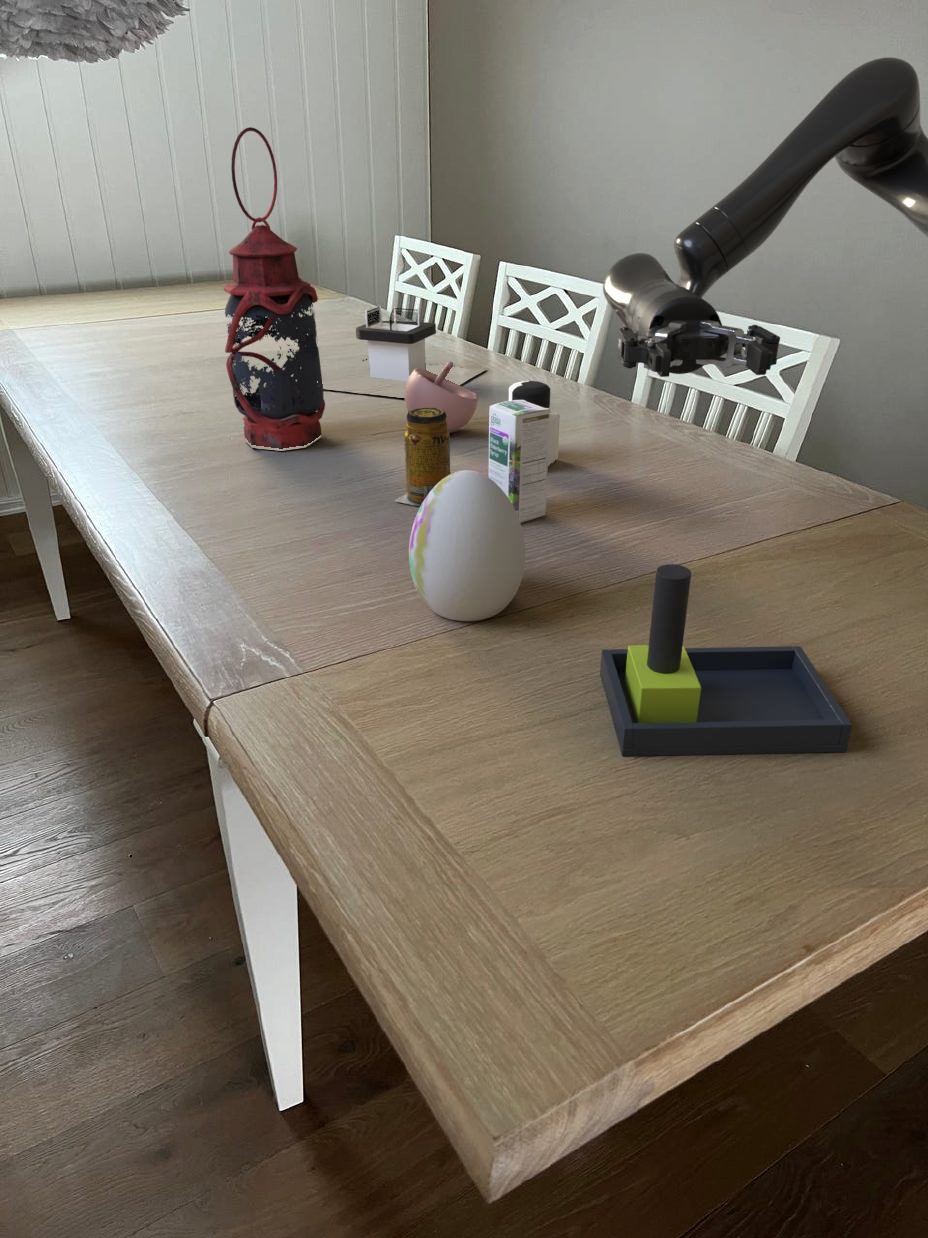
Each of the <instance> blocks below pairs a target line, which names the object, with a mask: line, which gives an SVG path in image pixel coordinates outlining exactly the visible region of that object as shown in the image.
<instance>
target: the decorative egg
mask: <svg viewBox="0 0 928 1238" xmlns="http://www.w3.org/2000/svg"><path fill="white" fill-rule="evenodd" d="M524 535H525V534H524V531H523V527H522V523H520V520H519V518H518V515H517V513H516V511H515V509H514V506H513V505H512V503H511V501H510V500H509V498H508V497H507V496H506V494H505V493H504V492H503V490H502V489H501V488H500V487H499V486H498V485H497V484H496V483H495V482H494V481H492V480H491V479H490V478H488V476H487V475H485V474H483V473H481V472H479V471H476V470H470V469H463V470H457V471H453V472H452V473H451V474H450V475H448V476H446V477H445V478H444V479H442V480H441V481H440V482H439V483H438V484H437V485H436V486H435V487H434V488H433V489H432V490H431V491H430V493H429V494H428V495H427V497H426V498H425V499H424V501H423V503H422V505H421V506H419V508H418V511H417V513H416V515H415V518H414V520H413V524H412V527H411V532H410V536H409V544H408V563H409V570H410V575H411V579H412V582H413V584H414V587H415V589H416V591H417V593H418V595H419V597H420V598H421V599H422V601H423V602H424V604H426V605H427V607H428V608H429V609H430V610H431V611H432V612H433V613H435V614H436V615H438V616H440V617H442V618H445V619H448V620H451V621H458V622H478V621H482V620H485V619H486V620H487V619H489V618H492V617H495V616H497V615H499V614H500V613H501V612H502V611H504V609H506V608H507V607H508V605H510V603H511V602H512V600H514V598H515V596H516V594H517V593H518V591H519V588H520V586H521V583H522V580H523V577H524V573H525V568H526V542H525V536H524Z"/></svg>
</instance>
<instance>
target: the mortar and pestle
mask: <svg viewBox="0 0 928 1238" xmlns="http://www.w3.org/2000/svg"><path fill="white" fill-rule="evenodd" d="M444 365H445V366H444V368H443V369H442V370H441V372H440V374H439V375H436V374H433V373H431V372H429V371H427V370H424V369H420V368H417V369H414V371H413V372H412V373H411V375H410V377H409V378H408V381H407V383H406V387H405V395H404V396H405V399H404V404H405V407H406V408H405V409H406V410H407V413H408V412H409V411H411V410H413V409H417V408H425V407H430V408H438V409H441V410H443V411H445V412H446V416H447V417H446V422H447V430H448V432H449V434H450V433H453V432H457V431H458V430H460V429H462V428H463V427H464V426H466V425H467V424H468V423H469V422H470V421H471V419H472V418H473V416H474V415H475V412H476V410H477V408H478V403H479V397H478V395H477V393H476V392H474V391H471V390H470V389H467V388H465V387H463V386H462V385H461V386H459V385H457V384H455V383H453V382H451V381H449V380H446V379H445V377H446V376H447V374H448V373H449V371H450V369H451V368H452V367H453V366H454V362H452V361H448V362H446V364H444Z"/></svg>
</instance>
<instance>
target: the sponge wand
mask: <svg viewBox="0 0 928 1238" xmlns="http://www.w3.org/2000/svg"><path fill="white" fill-rule="evenodd" d="M654 578H655V580H654V589H653V598H652V608H651V618H650V619H651V621H650V629H649V639H648V644H647V645H645V644H644V645H643V644H642V645H641V644H640V645H628V646H627V649H628V652H627V663H626V675H625V685H626V688H627V692H628V695H629V699H630V702H631V706H632V709H633V713H634V716H635V719H636V723H678V722H697V716H698V708H699V701H700V694H701V686H700V683H699V681H698V679H697V676H696V674H695V671H694V669H693V667H692V664H691V662H690V659H689V657H688V655H687V652H686V650H685V648H686V647H685V645H684V638H685V628H686V622H687V621H686V620H687V613H688V604H689V597H690V589H691V588H690V587H691V581H692V580H691V579H692V571H691V570H690V569H689V568H688V567H686V566H684V565H681V564H673V563H672V564H671V563H668V564H662V565H660V566H658V567H657V568H656V571H655V577H654Z"/></svg>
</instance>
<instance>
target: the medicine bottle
mask: <svg viewBox="0 0 928 1238" xmlns="http://www.w3.org/2000/svg"><path fill="white" fill-rule="evenodd" d="M511 400H525V401H526V402H529V403H532V404H535V405H538V406H541V407H543V408H548V409H550V410H551V387H550V386H549V385H548V384H546V383H544V382H542V381H537V380H521V381H517V382H515V383H513V384H511V385H510V386H509V388H508V401H511ZM560 419H561V415H560V414H559V413H555V412H550V424H549V446H548V467H549V466H551V465H552V464H553V463H555V462H556V461H557V460H558V459H559V447H560V445H559V444H560ZM555 460H556V461H555ZM551 463H552V464H551ZM550 464H551V465H550Z"/></svg>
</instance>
